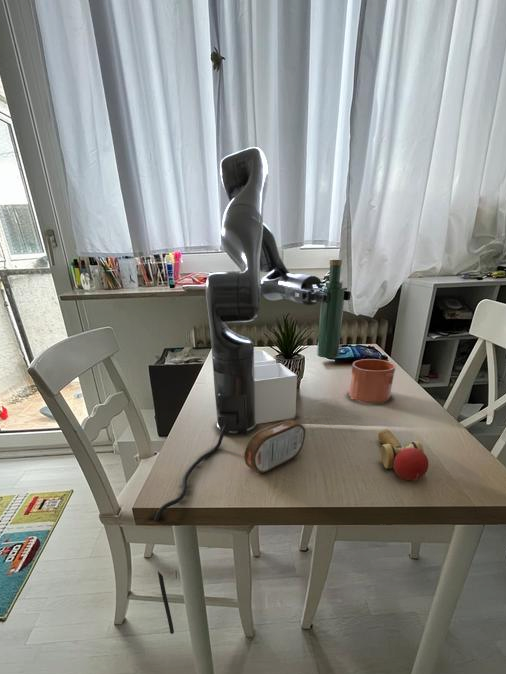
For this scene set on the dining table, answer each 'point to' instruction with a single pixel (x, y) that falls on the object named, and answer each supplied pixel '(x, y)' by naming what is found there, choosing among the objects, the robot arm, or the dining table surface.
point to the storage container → (273, 389)
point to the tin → (274, 445)
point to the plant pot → (371, 380)
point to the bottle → (331, 313)
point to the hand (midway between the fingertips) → (338, 297)
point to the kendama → (403, 457)
